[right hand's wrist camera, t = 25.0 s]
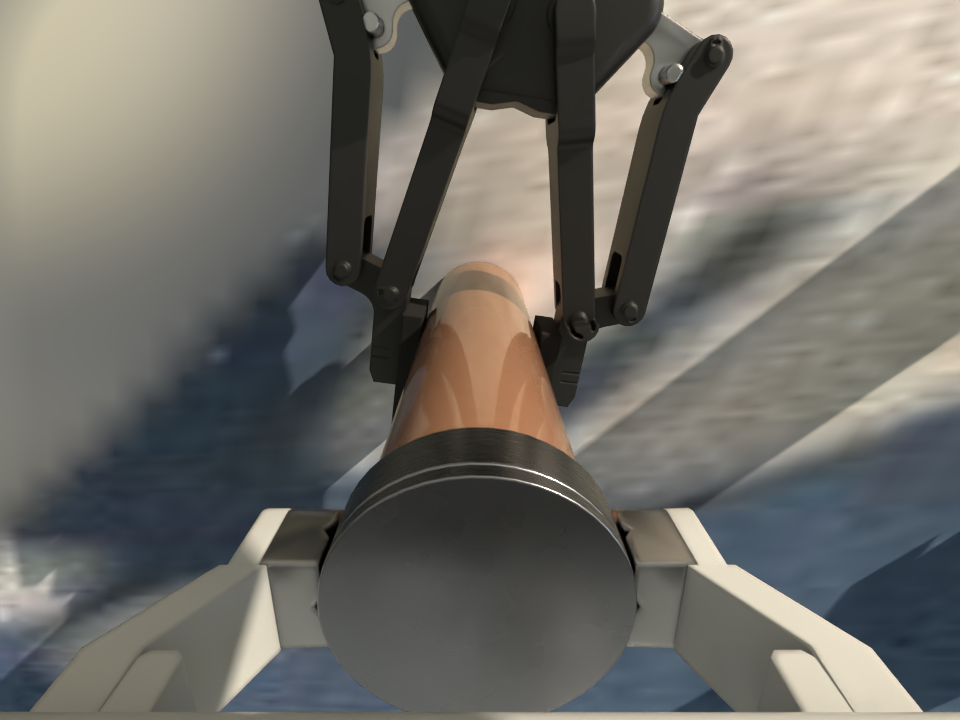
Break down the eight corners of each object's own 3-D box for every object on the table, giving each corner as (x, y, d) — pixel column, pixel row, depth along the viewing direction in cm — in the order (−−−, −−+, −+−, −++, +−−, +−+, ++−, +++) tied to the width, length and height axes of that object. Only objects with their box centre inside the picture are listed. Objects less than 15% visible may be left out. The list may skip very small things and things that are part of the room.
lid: (553, 380, 9) (568, 424, 7) (650, 599, 11) (678, 671, 9) (288, 489, 10) (252, 550, 8) (417, 678, 11) (408, 757, 10)
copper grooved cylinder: (448, 357, 28) (395, 698, 10) (422, 275, 27) (305, 507, 9) (532, 335, 28) (630, 650, 10) (510, 250, 26) (578, 440, 8)
